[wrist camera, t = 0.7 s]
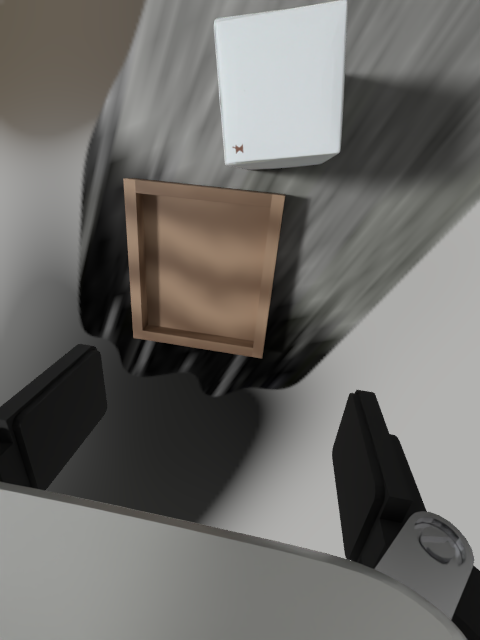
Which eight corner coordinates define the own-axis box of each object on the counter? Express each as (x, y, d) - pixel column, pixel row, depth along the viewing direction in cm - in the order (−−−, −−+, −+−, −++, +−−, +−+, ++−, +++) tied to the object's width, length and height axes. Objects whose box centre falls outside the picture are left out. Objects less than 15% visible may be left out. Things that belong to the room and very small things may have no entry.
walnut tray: (135, 178, 33) (123, 178, 31) (285, 194, 32) (284, 195, 29) (142, 328, 41) (133, 337, 39) (263, 347, 39) (261, 358, 37)
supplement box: (323, 165, 30) (341, 158, 19) (247, 170, 31) (220, 167, 20) (327, 70, 27) (352, -6, 16) (243, 80, 28) (209, 16, 17)
